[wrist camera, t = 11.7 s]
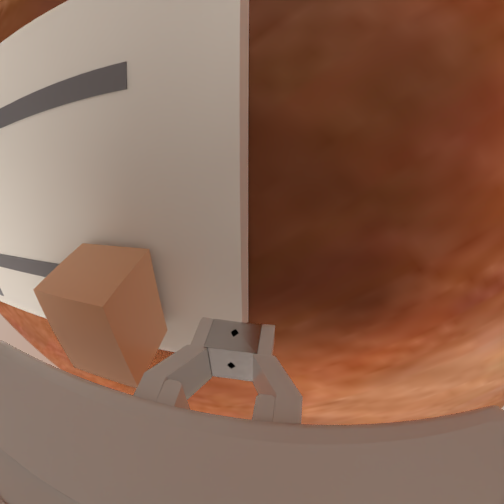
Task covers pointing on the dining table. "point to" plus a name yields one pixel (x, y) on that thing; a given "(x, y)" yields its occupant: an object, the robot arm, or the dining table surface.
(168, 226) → the fader panel
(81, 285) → the block
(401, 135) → the dining table surface
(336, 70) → the dining table surface
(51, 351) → the dining table surface
